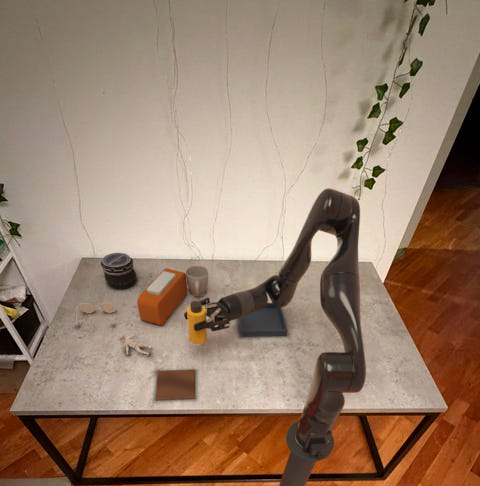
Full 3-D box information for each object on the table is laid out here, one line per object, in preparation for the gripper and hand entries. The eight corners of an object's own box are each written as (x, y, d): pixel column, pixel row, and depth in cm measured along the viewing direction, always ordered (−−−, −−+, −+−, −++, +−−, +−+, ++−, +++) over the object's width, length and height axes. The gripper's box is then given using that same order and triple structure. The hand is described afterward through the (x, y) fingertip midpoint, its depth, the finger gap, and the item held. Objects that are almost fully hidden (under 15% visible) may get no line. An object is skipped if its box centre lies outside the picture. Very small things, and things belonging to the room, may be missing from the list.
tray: (286, 335, 127) (287, 330, 125) (241, 336, 125) (241, 331, 123) (279, 307, 137) (279, 302, 135) (237, 308, 135) (237, 303, 133)
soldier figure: (143, 363, 116) (111, 347, 114) (147, 362, 120) (116, 346, 119) (153, 343, 114) (120, 326, 113) (156, 343, 119) (125, 326, 118)
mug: (187, 286, 143) (186, 265, 135) (208, 286, 143) (208, 265, 136) (187, 303, 136) (185, 282, 128) (209, 303, 136) (208, 282, 129)
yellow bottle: (210, 339, 108) (209, 304, 98) (196, 347, 106) (194, 312, 95) (199, 330, 110) (197, 296, 100) (186, 337, 108) (182, 303, 98)
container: (110, 272, 146) (104, 250, 138) (140, 274, 146) (135, 252, 139) (102, 289, 139) (95, 266, 131) (133, 291, 139) (128, 269, 131)
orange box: (169, 288, 141) (166, 263, 132) (188, 293, 140) (185, 267, 131) (141, 322, 127) (134, 296, 118) (160, 327, 126) (156, 301, 117)
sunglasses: (118, 312, 130) (114, 302, 126) (116, 329, 126) (112, 319, 122) (80, 312, 129) (76, 303, 124) (77, 329, 125) (72, 320, 121)
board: (194, 398, 106) (194, 397, 105) (156, 400, 105) (155, 398, 104) (194, 371, 113) (194, 369, 113) (158, 372, 112) (157, 370, 112)
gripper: (225, 283, 108) (177, 298, 102) (250, 307, 101) (200, 325, 95) (225, 303, 114) (179, 319, 108) (248, 327, 107) (201, 345, 101)
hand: (189, 322), depth 101 cm, fingers closed on yellow bottle, 5 cm apart
